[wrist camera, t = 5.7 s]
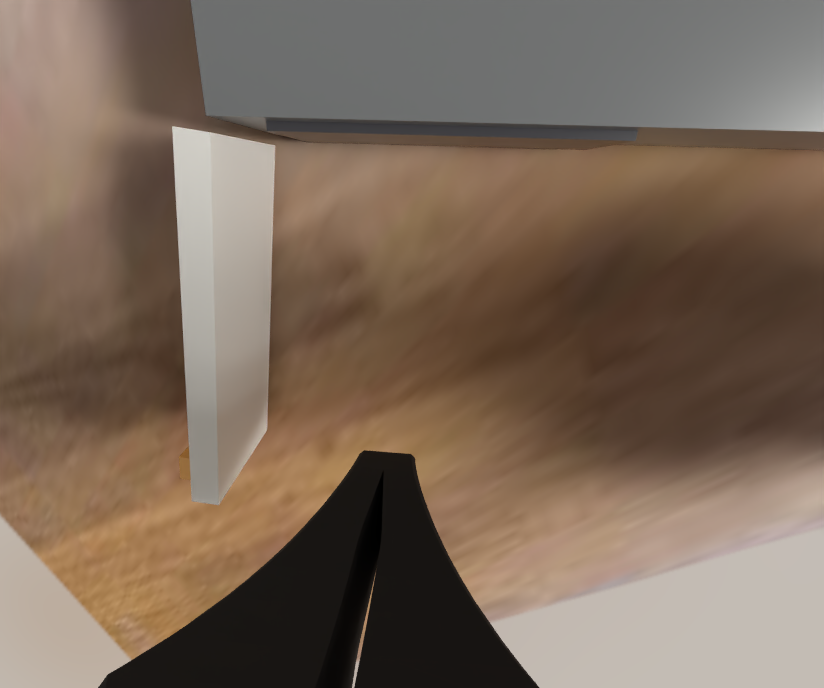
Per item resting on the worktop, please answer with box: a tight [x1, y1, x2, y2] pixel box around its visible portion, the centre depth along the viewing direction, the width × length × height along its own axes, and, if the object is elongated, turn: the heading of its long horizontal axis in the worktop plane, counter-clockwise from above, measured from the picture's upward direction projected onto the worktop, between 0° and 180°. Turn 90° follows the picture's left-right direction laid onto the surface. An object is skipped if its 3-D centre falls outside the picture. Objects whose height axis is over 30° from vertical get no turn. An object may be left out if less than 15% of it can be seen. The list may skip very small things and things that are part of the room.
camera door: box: [172, 126, 275, 505], centre depth 13 cm, size 10×1×4 cm, turn 171°
